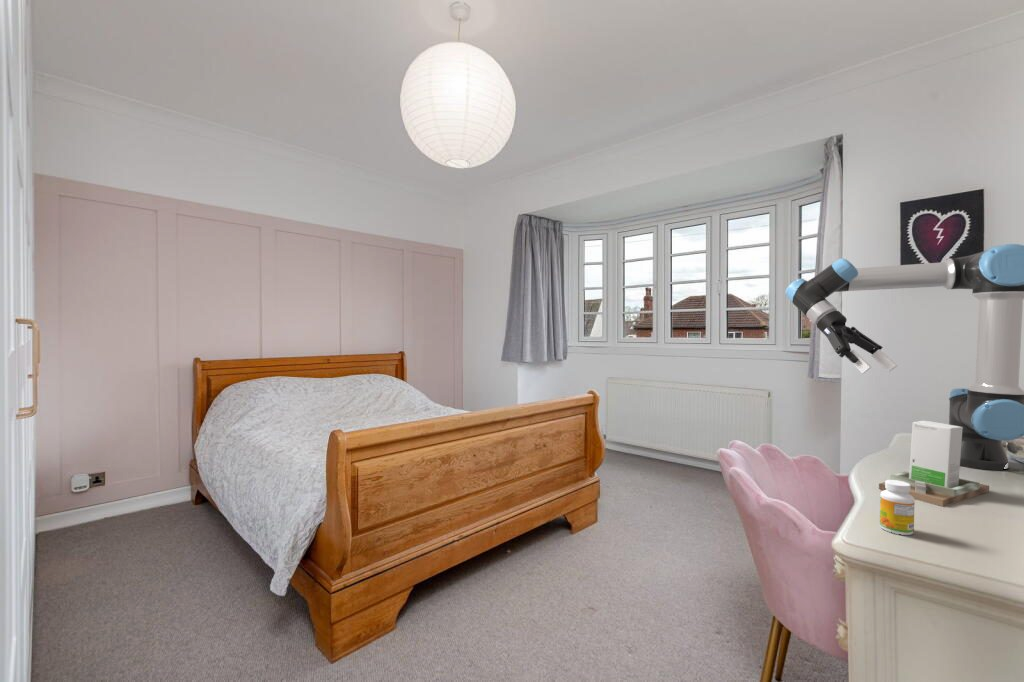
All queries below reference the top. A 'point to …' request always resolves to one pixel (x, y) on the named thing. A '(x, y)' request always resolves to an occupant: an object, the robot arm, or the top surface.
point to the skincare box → (935, 453)
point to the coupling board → (939, 490)
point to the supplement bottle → (897, 508)
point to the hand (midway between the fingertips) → (880, 369)
